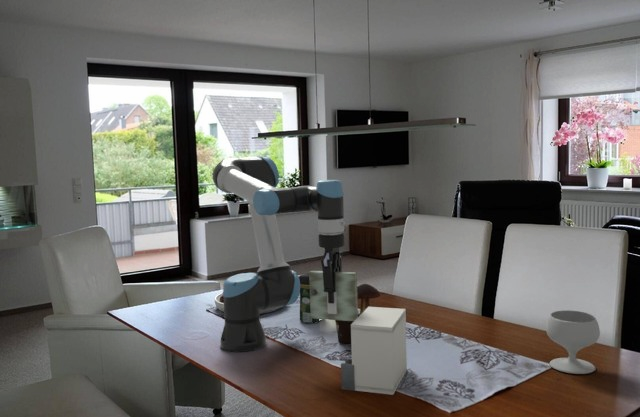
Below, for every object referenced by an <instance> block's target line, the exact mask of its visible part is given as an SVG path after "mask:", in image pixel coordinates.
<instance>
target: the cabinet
mask: <svg viewBox="0 0 640 417" xmlns="http://www.w3.org/2000/svg"><path fill="white" fill-rule="evenodd" d="M406 311H407V310H406V308H399V307H398V308H395V307H381V306H380V307H379V306H371V307H368V308H367V309H366V310H365V311H364V312H363V313H362V314H361V315H360V316H359V317H358V318H357V319H356V320H355V321H354V322H353V323H352V324H351V345H350V346H351V359H352V365H354V379H355V392H356V391H357V392H367V393H372V394H373V393H374V394H382V395H391V396H394V394H395V392H396V390H397V388H398V387H399V384H400V382H401V381H402V380H403V377H404V375H405V374H406V371H407V364H408V362H407V359H408V358H407V323H406V322H407V320H406V319H407V317H406V316H407V315H406Z"/></svg>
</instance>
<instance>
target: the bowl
mask: <svg viewBox="0 0 640 417" xmlns="http://www.w3.org/2000/svg"><path fill="white" fill-rule="evenodd" d="M214 304H215V307H216V308H217V309H218V310H219V311H221V312H222V313H224V298H223V292H221V293H219V294H217V295H215V297H214ZM280 308H282V307H278V308H272V309H267V310H262V311H259V315H262V314H268V313H271V312H274V311H275V312H276V311H277V310H279V309H280Z"/></svg>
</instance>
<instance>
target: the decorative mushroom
mask: <svg viewBox="0 0 640 417" xmlns="http://www.w3.org/2000/svg"><path fill="white" fill-rule="evenodd" d="M379 297H381V292H380V291H379V290H378V289H377V288H375V287H374V286H373V285H370V284H368V283H363V284H362V283H361V284H360V285H357V300H360V306H359V311H360V315H361V314H362V313H363V312H364V311H365V310H366V309H367V308H368V307H372V306H371V302H370V299H371V300H372V299H377V298H379Z"/></svg>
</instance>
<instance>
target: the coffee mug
mask: <svg viewBox="0 0 640 417" xmlns="http://www.w3.org/2000/svg"><path fill="white" fill-rule="evenodd" d="M359 316H360V310H358V317H359ZM334 321H335V327H336V334H337V341H338V343H339V344H340V345H343V346H344V345H346V346H349V345H350V346H351V324H352V323H353V322H354V321H343V320H334Z"/></svg>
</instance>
